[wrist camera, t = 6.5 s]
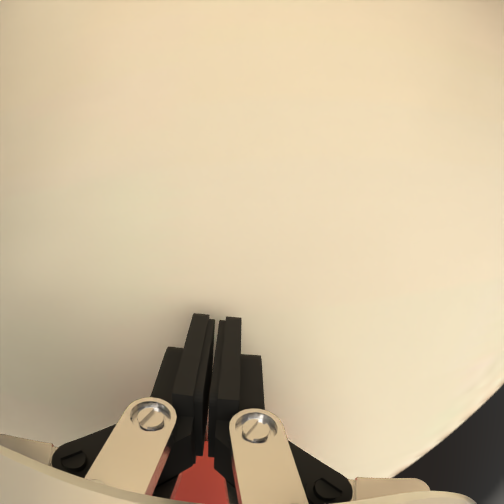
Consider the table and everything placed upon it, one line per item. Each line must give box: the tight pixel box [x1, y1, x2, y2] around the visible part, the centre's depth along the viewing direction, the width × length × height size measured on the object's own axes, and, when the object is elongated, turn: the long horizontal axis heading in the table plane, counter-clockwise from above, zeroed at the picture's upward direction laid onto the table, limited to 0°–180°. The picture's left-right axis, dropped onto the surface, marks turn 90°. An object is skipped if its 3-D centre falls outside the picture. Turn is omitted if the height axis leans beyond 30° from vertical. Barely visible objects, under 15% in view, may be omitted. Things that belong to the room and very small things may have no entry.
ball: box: [174, 441, 227, 504], centre depth 12 cm, size 6×6×6 cm
